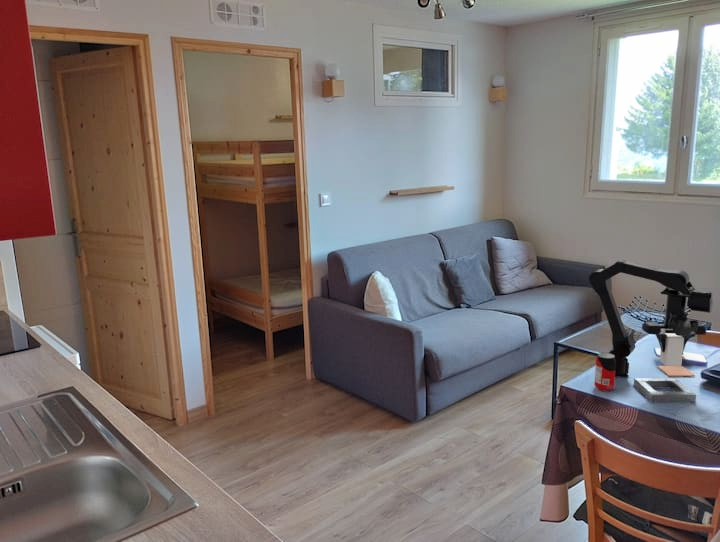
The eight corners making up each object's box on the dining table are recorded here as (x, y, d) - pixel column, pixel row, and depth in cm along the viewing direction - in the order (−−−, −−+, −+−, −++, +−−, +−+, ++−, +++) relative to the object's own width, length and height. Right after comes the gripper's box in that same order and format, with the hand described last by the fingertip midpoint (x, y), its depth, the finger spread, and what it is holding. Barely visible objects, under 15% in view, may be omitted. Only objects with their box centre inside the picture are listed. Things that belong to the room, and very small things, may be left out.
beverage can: (615, 392, 191) (617, 359, 189) (595, 391, 193) (597, 357, 191) (612, 385, 197) (615, 352, 195) (593, 383, 199) (595, 351, 197)
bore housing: (651, 401, 184) (652, 394, 183) (633, 385, 197) (634, 378, 197) (695, 402, 183) (696, 394, 183) (674, 385, 197) (675, 378, 196)
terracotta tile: (668, 376, 204) (669, 375, 204) (657, 367, 213) (657, 366, 213) (694, 376, 203) (695, 375, 203) (682, 367, 212) (682, 366, 212)
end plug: (665, 365, 193) (668, 337, 191) (659, 360, 198) (662, 333, 196) (681, 366, 193) (684, 338, 191) (674, 360, 197) (677, 333, 195)
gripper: (656, 314, 184) (652, 360, 187) (717, 314, 183) (712, 360, 186) (643, 305, 195) (639, 348, 198) (700, 305, 193) (695, 349, 197)
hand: (671, 352), depth 194 cm, fingers closed on end plug, 5 cm apart
